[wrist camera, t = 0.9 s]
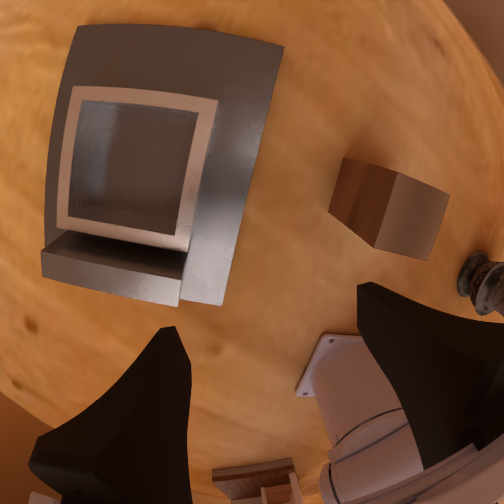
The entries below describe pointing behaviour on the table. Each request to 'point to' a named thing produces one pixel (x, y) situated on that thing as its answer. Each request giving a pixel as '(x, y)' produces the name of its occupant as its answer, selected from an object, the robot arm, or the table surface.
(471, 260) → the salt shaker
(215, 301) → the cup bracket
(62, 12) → the table surface
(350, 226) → the rail post
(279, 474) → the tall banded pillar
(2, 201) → the table surface
